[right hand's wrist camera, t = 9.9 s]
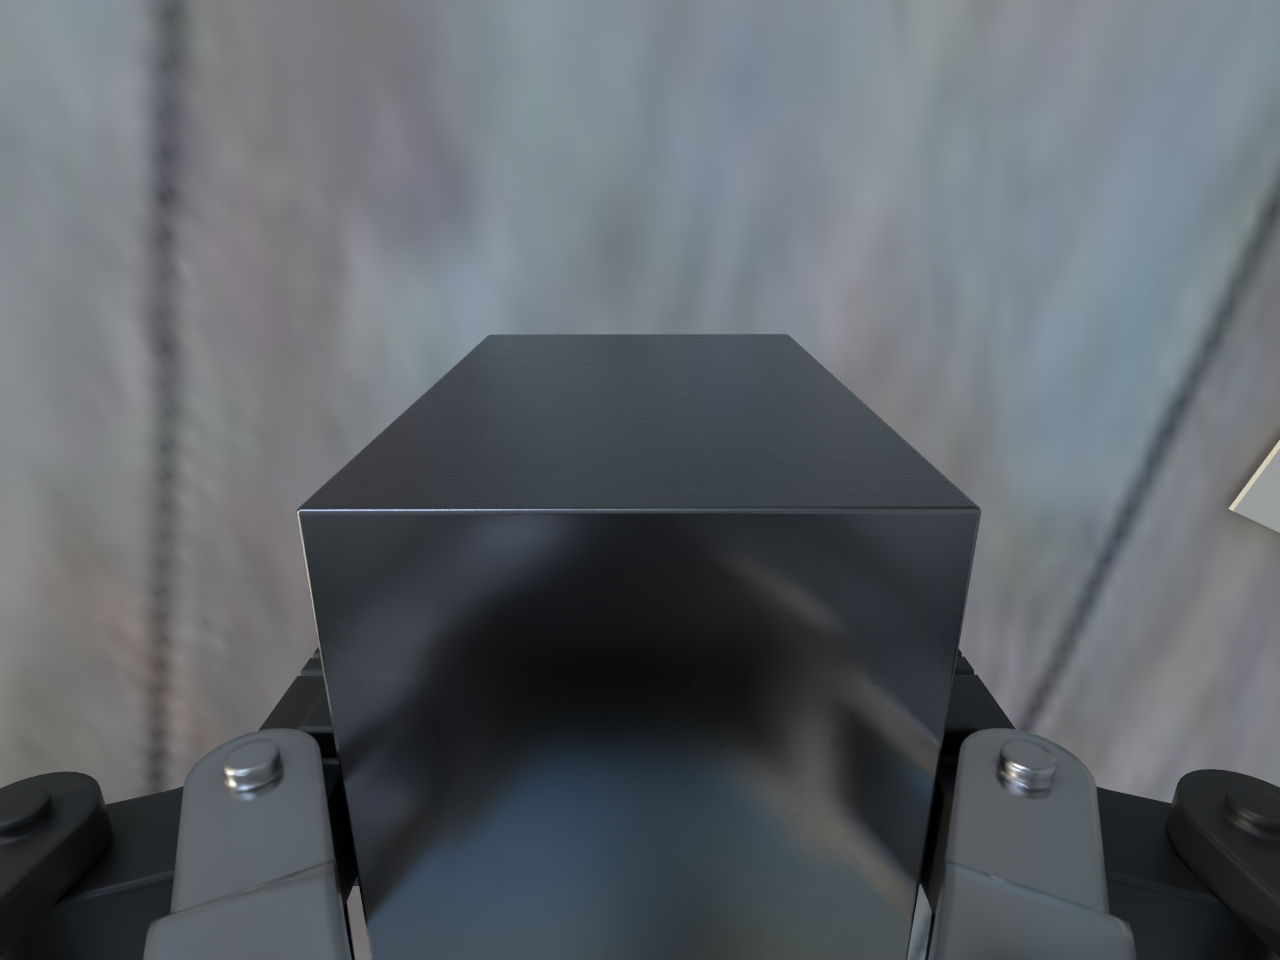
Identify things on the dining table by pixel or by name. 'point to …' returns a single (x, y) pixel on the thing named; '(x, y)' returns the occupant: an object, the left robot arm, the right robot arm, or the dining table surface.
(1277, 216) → the dining table surface
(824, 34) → the dining table surface
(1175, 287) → the dining table surface
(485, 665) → the bar
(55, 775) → the right robot arm
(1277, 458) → the invitation card
